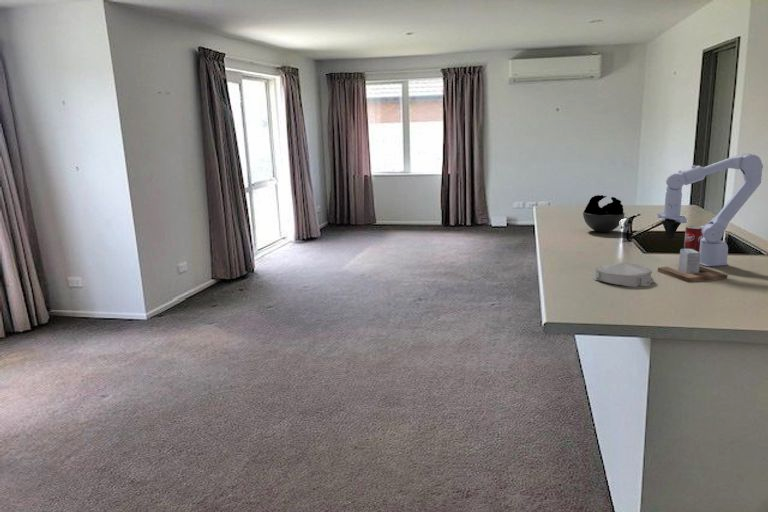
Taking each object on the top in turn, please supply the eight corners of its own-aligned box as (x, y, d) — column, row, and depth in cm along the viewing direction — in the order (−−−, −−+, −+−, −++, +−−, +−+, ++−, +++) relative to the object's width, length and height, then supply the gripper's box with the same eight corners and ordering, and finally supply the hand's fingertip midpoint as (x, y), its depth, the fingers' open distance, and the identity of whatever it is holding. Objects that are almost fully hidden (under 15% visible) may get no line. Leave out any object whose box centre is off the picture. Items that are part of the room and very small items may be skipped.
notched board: (695, 268, 220) (695, 264, 220) (727, 278, 205) (727, 274, 205) (657, 271, 217) (657, 267, 217) (687, 282, 202) (687, 277, 202)
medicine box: (698, 276, 209) (701, 253, 207) (685, 276, 210) (688, 252, 208) (690, 271, 217) (692, 248, 215) (678, 271, 217) (680, 248, 215)
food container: (617, 290, 195) (618, 271, 193) (582, 275, 214) (583, 257, 212) (666, 286, 200) (668, 267, 199) (628, 271, 219) (630, 254, 217)
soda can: (701, 254, 244) (703, 225, 242) (704, 257, 238) (707, 228, 235) (681, 253, 247) (684, 225, 244) (684, 256, 240) (687, 228, 237)
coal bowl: (578, 228, 310) (580, 193, 306) (617, 228, 307) (620, 193, 303) (586, 235, 291) (588, 197, 286) (627, 235, 288) (630, 197, 284)
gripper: (652, 202, 234) (649, 235, 237) (676, 207, 220) (673, 242, 223) (667, 201, 235) (664, 234, 238) (692, 206, 221) (689, 241, 224)
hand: (669, 238), depth 230 cm, fingers closed
